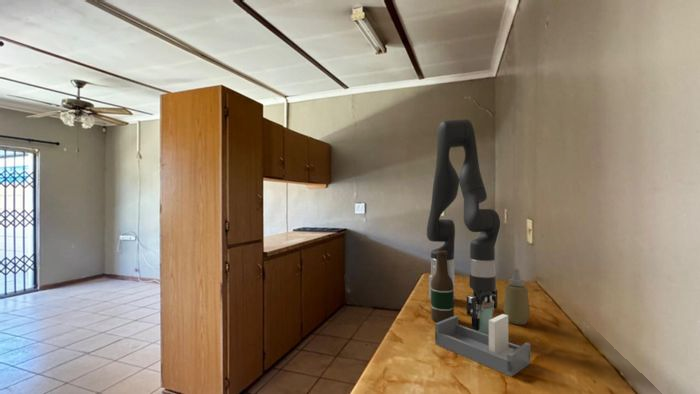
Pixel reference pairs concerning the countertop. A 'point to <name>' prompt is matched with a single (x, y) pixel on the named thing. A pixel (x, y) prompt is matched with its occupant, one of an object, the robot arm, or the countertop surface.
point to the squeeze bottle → (516, 300)
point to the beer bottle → (442, 290)
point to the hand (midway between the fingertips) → (482, 326)
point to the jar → (485, 317)
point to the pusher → (499, 336)
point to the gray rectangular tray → (479, 347)
